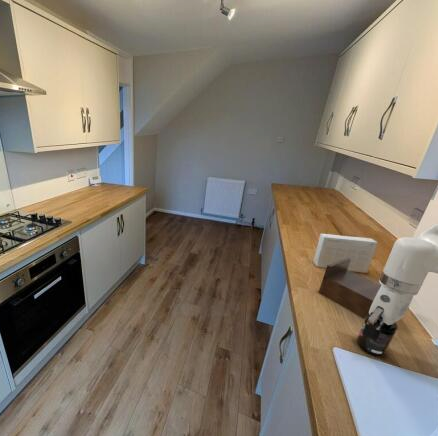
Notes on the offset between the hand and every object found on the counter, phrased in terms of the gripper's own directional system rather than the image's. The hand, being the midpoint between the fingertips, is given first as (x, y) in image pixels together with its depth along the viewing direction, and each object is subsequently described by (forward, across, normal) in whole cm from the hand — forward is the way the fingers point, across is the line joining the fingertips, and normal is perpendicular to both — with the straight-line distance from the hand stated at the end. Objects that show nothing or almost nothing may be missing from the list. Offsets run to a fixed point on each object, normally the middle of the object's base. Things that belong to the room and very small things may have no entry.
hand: (376, 332), depth 70 cm
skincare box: (+6, +42, +31) cm, 53 cm away
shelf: (+6, +20, +15) cm, 26 cm away
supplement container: (+6, 0, 0) cm, 6 cm away
